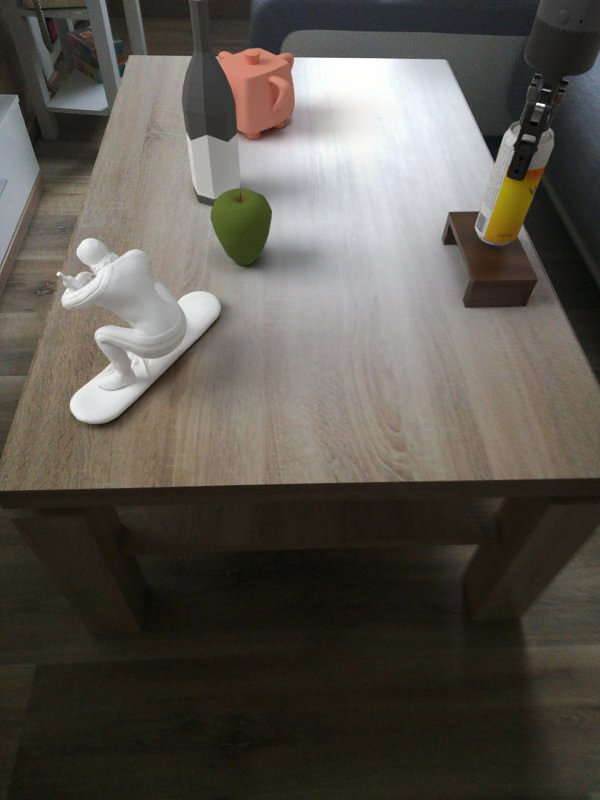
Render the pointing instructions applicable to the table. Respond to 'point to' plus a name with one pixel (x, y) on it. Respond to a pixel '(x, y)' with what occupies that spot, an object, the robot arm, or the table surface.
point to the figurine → (145, 311)
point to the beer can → (511, 190)
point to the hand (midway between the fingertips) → (520, 164)
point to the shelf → (490, 265)
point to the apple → (241, 223)
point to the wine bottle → (209, 115)
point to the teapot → (260, 88)
